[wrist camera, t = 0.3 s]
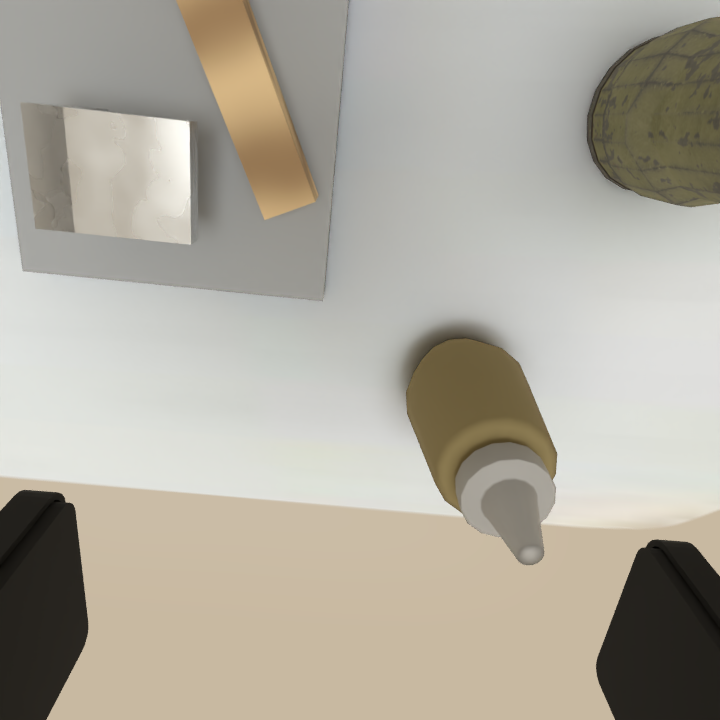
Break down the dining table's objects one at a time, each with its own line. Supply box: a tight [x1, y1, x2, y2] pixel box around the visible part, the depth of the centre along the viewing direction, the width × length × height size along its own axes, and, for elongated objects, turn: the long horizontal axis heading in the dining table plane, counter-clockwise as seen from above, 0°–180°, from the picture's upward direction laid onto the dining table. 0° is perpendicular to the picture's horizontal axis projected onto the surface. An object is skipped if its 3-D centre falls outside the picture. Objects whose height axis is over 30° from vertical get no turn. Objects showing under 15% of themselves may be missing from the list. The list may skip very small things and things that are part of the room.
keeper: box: [20, 102, 198, 245], centre depth 30 cm, size 6×8×5 cm
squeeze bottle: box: [406, 338, 557, 565], centre depth 32 cm, size 8×8×18 cm
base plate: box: [0, 0, 349, 301], centre depth 30 cm, size 30×19×2 cm, turn 174°
